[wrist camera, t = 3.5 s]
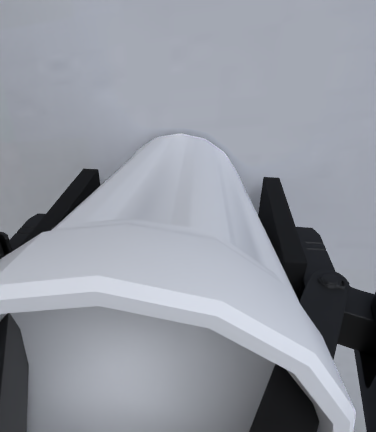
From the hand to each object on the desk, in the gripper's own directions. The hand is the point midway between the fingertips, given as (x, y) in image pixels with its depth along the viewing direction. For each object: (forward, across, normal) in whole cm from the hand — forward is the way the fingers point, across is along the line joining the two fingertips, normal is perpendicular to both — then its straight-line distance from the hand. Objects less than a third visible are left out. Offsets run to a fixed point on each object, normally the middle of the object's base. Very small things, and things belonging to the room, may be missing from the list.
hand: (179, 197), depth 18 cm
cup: (+1, 0, 0) cm, 1 cm away
